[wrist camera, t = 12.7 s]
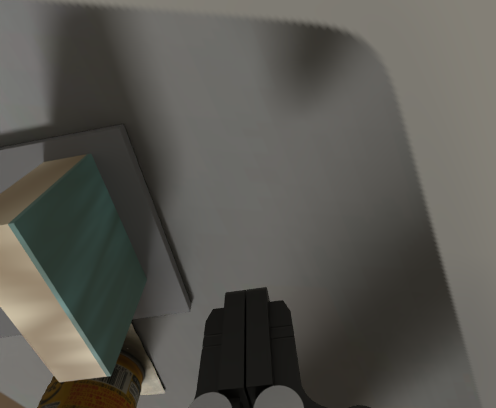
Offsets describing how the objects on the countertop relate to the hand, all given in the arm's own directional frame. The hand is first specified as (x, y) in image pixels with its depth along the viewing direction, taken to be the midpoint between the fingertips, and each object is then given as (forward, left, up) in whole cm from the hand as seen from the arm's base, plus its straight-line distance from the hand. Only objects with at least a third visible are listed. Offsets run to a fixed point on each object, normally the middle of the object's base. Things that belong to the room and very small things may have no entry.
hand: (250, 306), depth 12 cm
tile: (+5, +8, -3) cm, 10 cm away
